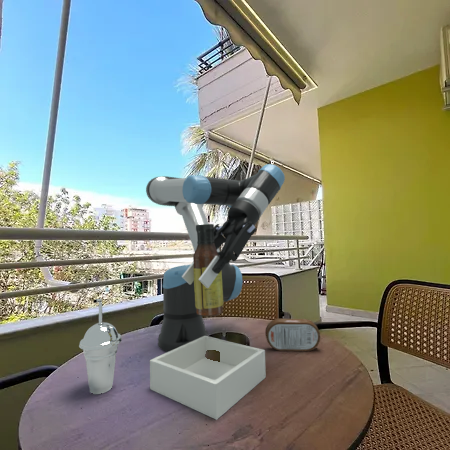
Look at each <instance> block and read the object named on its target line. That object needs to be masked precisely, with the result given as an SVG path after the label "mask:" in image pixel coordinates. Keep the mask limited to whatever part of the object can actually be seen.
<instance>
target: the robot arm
mask: <svg viewBox="0 0 450 450" xmlns="http://www.w3.org/2000/svg"><path fill="white" fill-rule="evenodd" d="M285 178H286V177H285V173H284V172H283V171H282V169H281V168H280V167H279V166H277V165H275V164H272V163H267V164H265V165H263V166H262V167H261V168H260V169H259V170H258V171H257V173H255V174H254V175H252V176H249V177H247V178H244V179H242V180H237V179H227V178H219V177H211V176H204V175H200V174H199V175H197V174H196V175H194V174H193V175H192V174H191V175H188V176H187V177H173V176H165V175H164V176H163V175H162V176H155V177H153V178H151V179H150V180H149V181H148V183H147V184H146V187H145V192H146V193H145V194H146V196H147V197H148V199H149V201H151V202H152V203H155V204H156V205H160V206H166V207H167V206H168V207H174V209H175V212H176V213H177V214H178V215H180V216H181V217H182V219H183V222H184V225H185V228H186V231H187V234H188V237H189V240H190V242H191V244H192V245H191V246H192V248H193V251H194V252H195V251H196V249H197V245H198V244H197V241H198V239H197V231H196V225H200V224H210V223H209V220H208V218H207V216H206V213H205V212H204V209H203V207H204V205H212V206H213V205H216V206H217V205H218V206H227V207H228V208H229V209H228V210H227V218H228V219H227V220H226V221H225V222H224V223H223V224H222V225H221V226H220V225H219V224H215V225H214V231H213V233H214V244H215V247H216V250H217V254H218V255H219V256H215V257H214V259H213V260H212V262H211V263H210V264H209V266H208V267H207V268H206V270H205V271H204V272H203V274H202V275H201V277H200V278H199V279H198V280H199V281H200V282H201V283H202V284H203V285H204V286H205V287H206V288H209V287H210V285H211V284H212V282H213V281H214V279H215V278H216V276H217V275H218V274H219V273H220V271H221V272H222V288H223V303H224V302H228V301H231V300H234V299H236V298H238V296H239V295H240V294H241V292H242V289H243V282H244V281H243V274H242V272H241V270H240V268H239V267H238V266H236V265H234V264H230V261H232V262H236V261H237V260H238V258H239V257H240V256H241V253H242V252H243V250H244V248H245V247H246V245H247V243H248V242H249V240H250V239H251V237H252V236H253V235H254V234H255V233H256V232H257V228H256V224H257V223H258V221H259V220H260V218H261V217H262V215H263V213H264V212H265V211H266V210H267V208H268V206H269V205H270V204H271V203H272V201H273V200H274V198H275V197H276V196H277V194H278V193H279V191H280V190H281V188H282V186H283V184H285ZM222 245H223V246H222ZM221 246H222V248H221ZM220 248H221V251H220ZM219 257H220V258H219ZM193 268H194V261H192V263H191V264H184V265H183V264H182V265H178V266H175V267H171V268H169V269H167V270H165V272H164V273H163V281H162V282H163V283H162V296H163V300H162V301H163V321H162V324H161V328H160V333H159V335H158V336H157V337H158V338H157V346H158V348H159V349H160V350H162V351H165V352H169V351H172V350H174V349H176V348H178V347H180V346H183V345H185V344H187V343H189V342H192V341H194V340H196V339H198V338H200V337H203V336H208V337H209V333H208V330H206V326H205V325H206V324H205V322H204V319H203V316H201V315H198V314H197V312H196V307H195V290H194V270H193Z"/></svg>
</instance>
